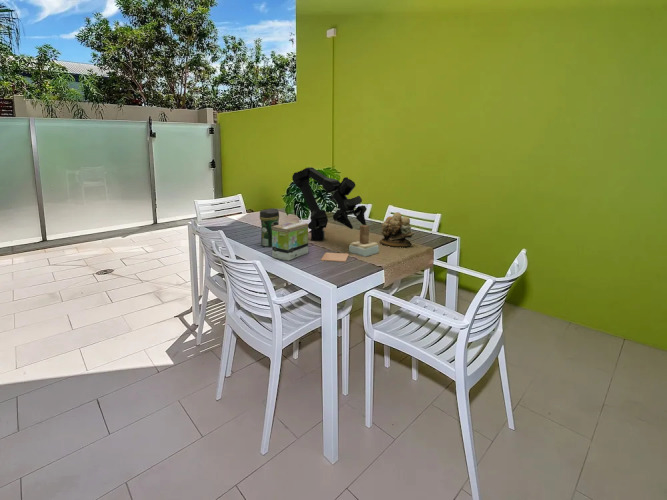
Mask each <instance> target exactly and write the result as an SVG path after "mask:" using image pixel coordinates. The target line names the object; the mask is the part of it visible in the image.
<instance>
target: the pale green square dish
mask: <svg viewBox="0 0 667 500" xmlns="http://www.w3.org/2000/svg"><path fill="white" fill-rule="evenodd" d="M379 248H380V244H379V245H377V246H374V247H371V248H367V249H362V248H358V247H355V246H351V244H349V245H348V254H354V255H355V256H356V255H357V256H360V257H364V258H366V257H369V256H372V255H375V254H379V251H380V249H379Z"/></svg>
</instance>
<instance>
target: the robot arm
mask: <svg viewBox="0 0 667 500" xmlns="http://www.w3.org/2000/svg"><path fill="white" fill-rule="evenodd" d="M310 179H311V180H314V181H315V182H317V183H318V184H320V185H321V186H322V189H323V190H325V192H326V193H329V194H330V193H333V194H330V198H329V200H330V201H334V202H335V203H336V205H337V210H336V211H335V213H334V214H333V215H332V219H333V221H334V222H337V223H340V224H342V225H344V226H346V227H347V228H348V229H350V230H352V229H354V226H353V225H352V223H351V220H350V219H349V218H348V216H352V215H353V216H354V217H355V219H357V221H358V222H359V223H361V225H367V223H366V218H365V217H366V216H365V214H366V211H367V209H368V208H367V206H365V205H361V204H362V202H363V199H362V197H361V196H360V195H357V196H354V197H351V198H348V197H347V196H349V195H350V193H351V192H352V191H353V190H354V189H355V188H356V183H355V181H354V180H352V179H350V178H349V177H343V179H342V181H341V182H340V181H339V180H338V179H335V178H331V177H327V176H326V175H324V174H323V173H321V172H320V171H318V170H316V169H315V168H314V167H313V166H312V167H304V169H301V170H298V171H296V172H294V173H293V174H292V178H291V180H292V181H293V183H294V186H296V187H298V188H299V190H300V191H301V193H302V195H303V199H304V200H305V202H306V205H307V206H308V209H309V212H310V221H309V222H308V230H310V235H311V237H310V241H315V242H317V241H318V242H323V240H324V239H326V238H325V237H326V234H325V233H326V230H324V229H325V228H327V225H328V222H329V219H328V215H327V213H326V210H325V209H320V207H319V204H318V202H317V200H316V198H315V196H314V194H313V191H312V189H311V187H310ZM355 208H356V209H355Z"/></svg>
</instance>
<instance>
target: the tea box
mask: <svg viewBox="0 0 667 500" xmlns="http://www.w3.org/2000/svg"><path fill="white" fill-rule="evenodd" d="M308 224H309V222H308V223H306V222H301V221H294V220H291V221H287V222H284V223H279V225H276V226H272V249H271V250H272V254H271V255H272V258H275V259H279V260H282V261H283V260H284V261H288V262H289V261H291V260H294V259H295V258H298V257H300V256H304V255H306V254H308V253H309V228H308Z"/></svg>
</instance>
